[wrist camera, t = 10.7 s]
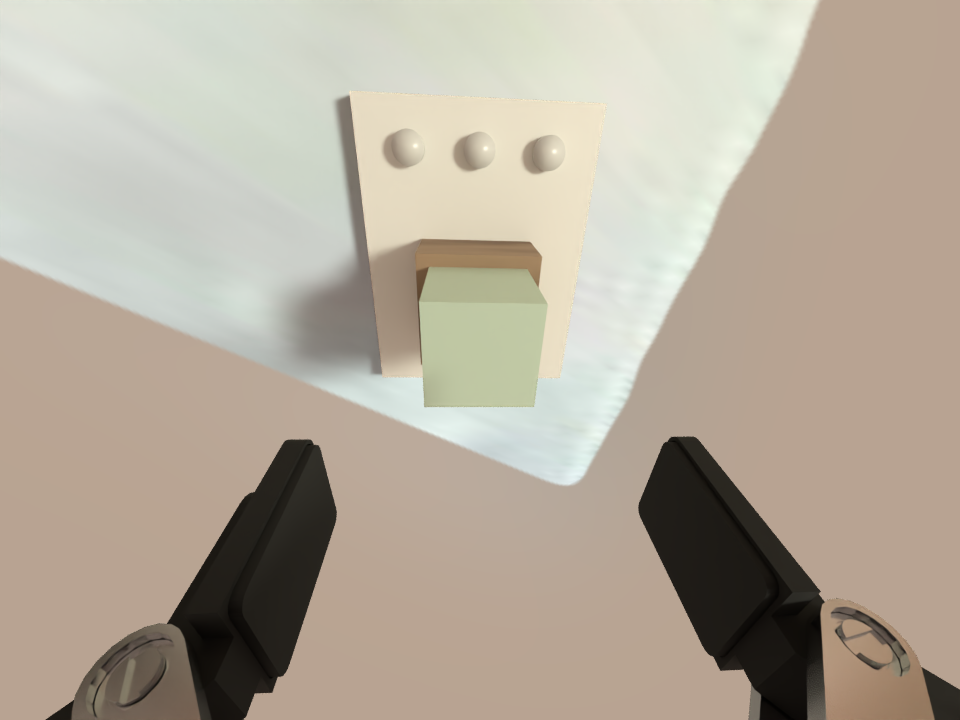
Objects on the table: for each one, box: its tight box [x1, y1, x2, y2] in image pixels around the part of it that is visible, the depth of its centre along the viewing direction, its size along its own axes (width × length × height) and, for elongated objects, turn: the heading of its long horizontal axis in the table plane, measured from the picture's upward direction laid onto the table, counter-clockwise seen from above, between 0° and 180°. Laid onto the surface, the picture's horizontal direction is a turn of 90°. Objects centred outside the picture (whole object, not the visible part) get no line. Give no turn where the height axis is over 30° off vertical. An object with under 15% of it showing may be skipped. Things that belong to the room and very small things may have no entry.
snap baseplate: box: [349, 91, 607, 378], centre depth 24 cm, size 18×14×2 cm
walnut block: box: [415, 239, 542, 365], centre depth 23 cm, size 7×7×4 cm
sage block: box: [419, 267, 548, 407], centre depth 19 cm, size 6×6×6 cm
